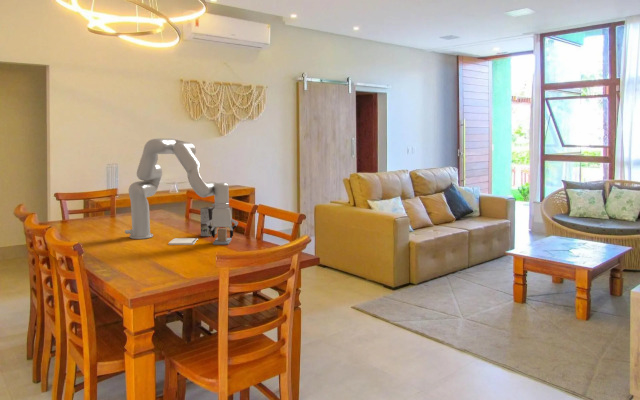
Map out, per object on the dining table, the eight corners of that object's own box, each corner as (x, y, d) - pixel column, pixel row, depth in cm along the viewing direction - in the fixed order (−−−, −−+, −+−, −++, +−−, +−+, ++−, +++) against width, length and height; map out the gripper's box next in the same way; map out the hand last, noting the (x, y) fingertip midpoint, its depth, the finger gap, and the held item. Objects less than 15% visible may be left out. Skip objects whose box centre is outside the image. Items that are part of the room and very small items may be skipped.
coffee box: (211, 236, 281) (210, 208, 279) (200, 236, 282) (199, 208, 280) (217, 233, 290) (216, 206, 288) (207, 233, 291) (206, 206, 289)
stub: (213, 244, 260) (212, 231, 259) (217, 239, 272) (216, 227, 271) (228, 244, 261) (228, 231, 260) (231, 239, 273) (231, 227, 272)
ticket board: (168, 244, 260) (168, 242, 259) (174, 239, 271) (174, 237, 271) (193, 244, 260) (193, 242, 260) (198, 239, 272) (198, 237, 272)
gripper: (204, 206, 260) (205, 238, 262) (237, 207, 261) (237, 238, 263) (206, 204, 267) (207, 236, 270) (238, 205, 268) (239, 236, 270)
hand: (222, 237), depth 266 cm, fingers open, 9 cm apart
